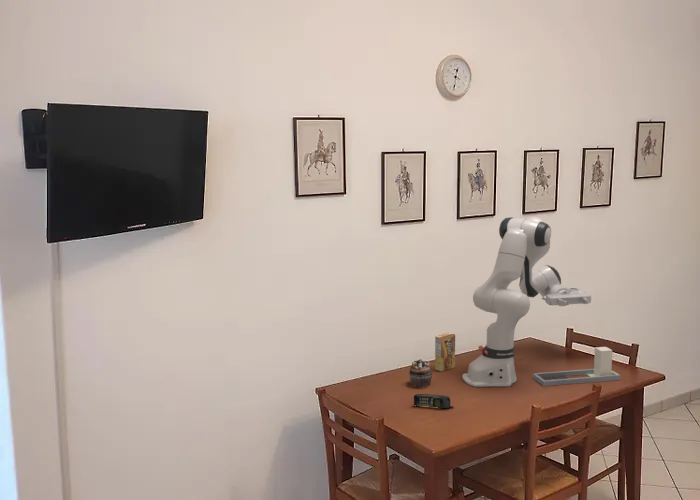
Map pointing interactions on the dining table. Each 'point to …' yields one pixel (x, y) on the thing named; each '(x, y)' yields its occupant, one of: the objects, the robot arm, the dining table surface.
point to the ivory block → (602, 361)
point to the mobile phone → (432, 400)
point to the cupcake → (420, 373)
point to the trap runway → (562, 379)
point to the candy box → (444, 351)
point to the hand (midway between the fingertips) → (576, 302)
